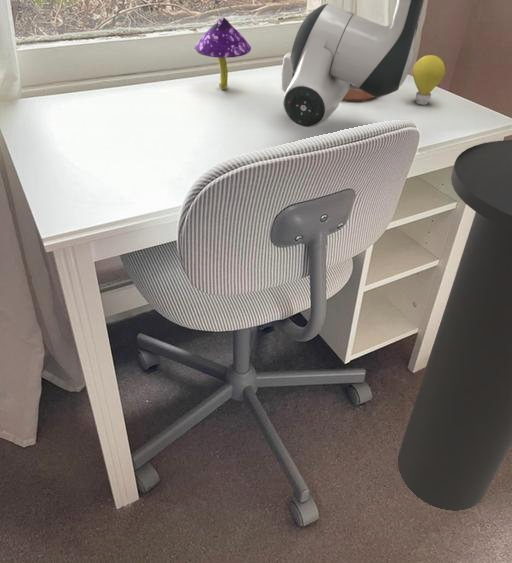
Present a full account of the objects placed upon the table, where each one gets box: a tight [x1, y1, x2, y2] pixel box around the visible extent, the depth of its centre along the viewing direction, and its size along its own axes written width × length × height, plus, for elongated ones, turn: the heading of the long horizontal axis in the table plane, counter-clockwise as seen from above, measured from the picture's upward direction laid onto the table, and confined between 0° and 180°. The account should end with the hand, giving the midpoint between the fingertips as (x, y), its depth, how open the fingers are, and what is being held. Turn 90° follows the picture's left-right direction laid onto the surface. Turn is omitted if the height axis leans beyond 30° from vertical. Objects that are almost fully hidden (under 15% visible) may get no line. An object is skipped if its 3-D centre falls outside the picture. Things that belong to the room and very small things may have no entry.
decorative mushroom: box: [194, 17, 252, 90], centre depth 118 cm, size 12×12×15 cm
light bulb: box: [412, 54, 446, 106], centre depth 116 cm, size 7×7×10 cm
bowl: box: [342, 89, 375, 102], centre depth 122 cm, size 14×14×5 cm
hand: (343, 60), depth 108 cm, fingers open, 8 cm apart
